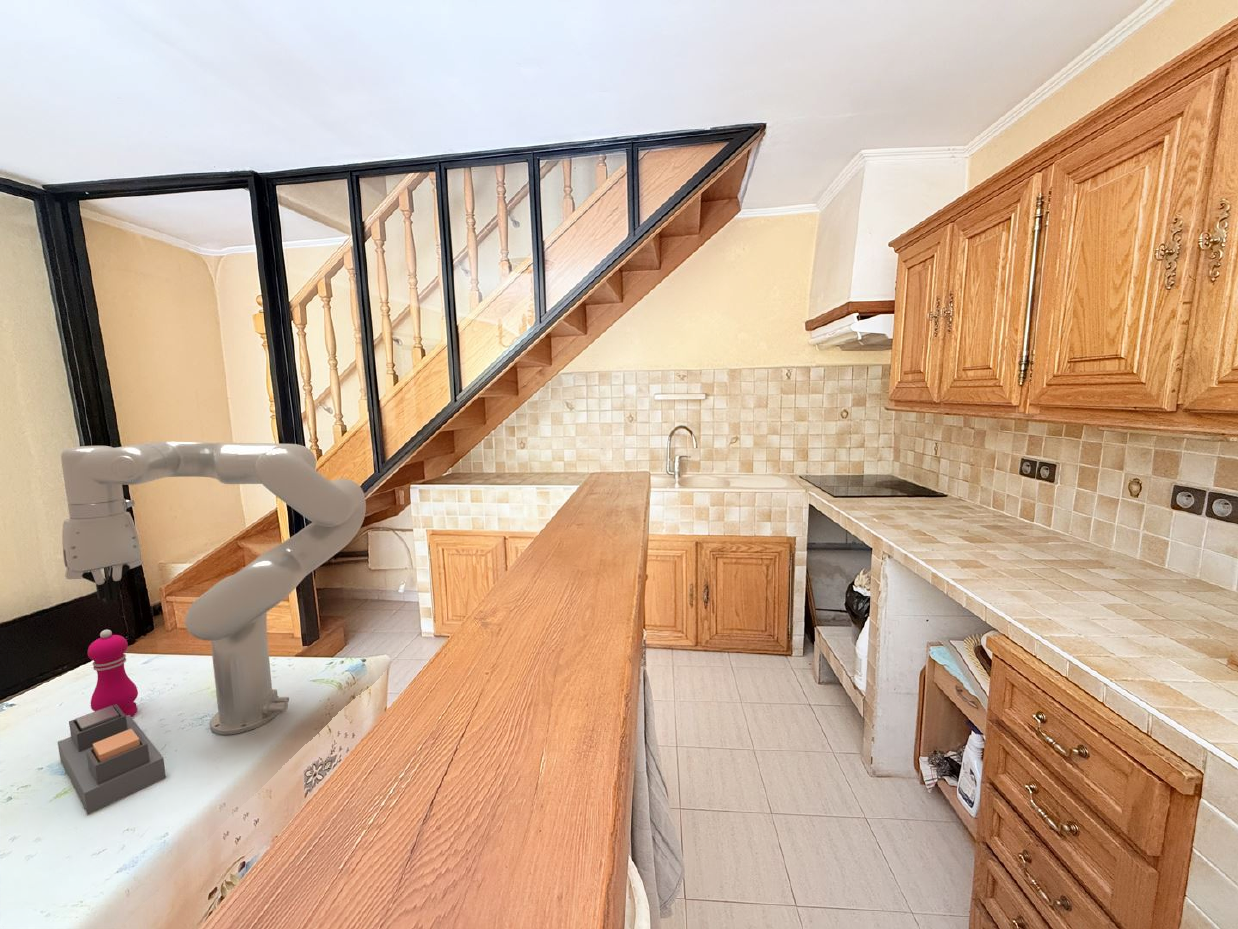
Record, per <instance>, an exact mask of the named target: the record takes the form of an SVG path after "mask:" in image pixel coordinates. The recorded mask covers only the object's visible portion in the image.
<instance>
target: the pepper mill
mask: <svg viewBox="0 0 1238 929" xmlns="http://www.w3.org/2000/svg"><path fill="white" fill-rule="evenodd" d="M99 636H100V638H97V639H96V640H94V641H92V642H91V644H89V645H88V649H87V656H88V658H89V659H90V660H91V661H93V662H92V666H93V667H92V669H93V670H94V671H96V674H97V681H96V685H95V687H94V688H95V689H94V690H93V693H92V696H91V698H90V709H91V710H92V712H95V711H98V710H101V709H103V708H106V707H109V706H113V705H116V704H117V705H118V707H119V708H120V709H121V710H122V712H123V713H124V714H125V716H127V715H130V716H131V717H132V718H133V716H135V715H136V714H137V712H138V707H137V703H136V702H135V701H136V699H137V698H138V695H139V691H138V687H137V685H136V684H135V683H134V682H133V680H131V678H130V677H129V676H128V675H127V672H126V669H125V663H126V662H127V658H126V657H127V656H126V654H125V652H126V650H127V649H128V647H129V646H128V645H129V644H128V641H127V639H126V638H125V637H124V636H122V635H118V634H113V633H112V630H110V629H104V630H102V631H101V632H100V634H99ZM135 713H136V714H135Z"/></svg>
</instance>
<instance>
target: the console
mask: <svg viewBox="0 0 1238 929" xmlns="http://www.w3.org/2000/svg"><path fill="white" fill-rule="evenodd" d="M113 707H114V709H115V710H116V711H117V713H118V714H119V717H118V718H116V719H113V720H110V721H108V722H105V723H102V724H100V725H97V726H95V727H92V728H89V729H87V730H84V731H81V732H80V731H79V730H78V728H77V725H76V718H75V719H72V720H69V721H68V725H69V731H70V737H66V738H64V739H62V740H61V739H60V740H58V741H57V746H58V747H57V748H58V754H59V755H58V756H59V759H60V760H59V761H60V763H61V764H62V767H63V769H64V771H65V773H66V775H67V776H68V778H69V781H70V782H71V785H72V786H73V789H74V790H75V792H76V794H77V797H78V799H79V801H80V802H81V805H82V806H83V809H84V810H85V813H86V815H87V816H89V815H90V814H93V813H94V812H97V811H99V810H101V809H103V808H106V807H108V806H109V805H111V804H114V803H115V802H116V803H117V801H118V802H119V800H122V799H124V798H126V797H128V796H130V795H133V794H136V792H139V791H142V790H143V789H145V788H147V787H150V786H151V785H153V784H156V783H158V782H160V781H162V780H164V779H166V778H167V776H166V767H165V760H164V759H165V758H164V757H163V755H162V754H161V753H160V751H159V750H158V748H156V746H155V745H154V744H153V742H151V740H150V739H149V737H148V736H147V735H146V734H145V732H144V731H143V730H142V729H141V728H140V726H139V725H138V724H137V722H136V721H135V720H134V718H133V716H132V717H131V716H130V715H127V716H125V714H124V713H123V712H122V710H121V709H120V708H119V707H118V705H117V704H116V705H113ZM129 729H132V730H133V731H134V732H135V734H136V735H137V736H138V738H139V740H140V746H138V747H136V748H133V749H131V750H128V751H126V752H124V753H121V754H119V755H117V756H114V757H112V758H109V759H107V760H105V761H102V762H100V763H98V761H97V760H96V758H95V756H94V750H93V743H96V742H98V741H101V740H103V739H106V738H108V737H111V736H113V735H116V734H119V733H121V732H124V731H126V730H129Z"/></svg>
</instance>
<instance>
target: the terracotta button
mask: <svg viewBox="0 0 1238 929" xmlns="http://www.w3.org/2000/svg"><path fill="white" fill-rule="evenodd" d="M138 746H140V740H139V738H138V736H137V735H136V734H135V732H134V731H133V730H132V729H129V730H126V731H124V732H121V733H119V734H116V735H113V736H111V737H108V738H106V739H103V740H101V741H98V742H96V743H93V750H94V756H95V758H96V760H97V761H98V763H100V762H102V761H105V760H107V759H109V758H112V757H114V756H117V755H119V754H121V753H124V752H126V751H128V750H131V749H133V748H136V747H138Z"/></svg>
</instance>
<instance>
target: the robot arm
mask: <svg viewBox="0 0 1238 929" xmlns="http://www.w3.org/2000/svg"><path fill="white" fill-rule="evenodd" d="M60 460H61V467H62V473H63V481H64V488H65V495H66V500H67V501H66V502H67V510H68V515H69V518H68V519H65V520H63V523H62V534H61V535H62V536H61V538H62V539H61V540H62V543H61V544H62V557H63V564H64V566H65V568H66V569H65V574H64V577H65V578H66V579H67V580H83V579H84V580H87V581H89V582H92V583H95V586H96V594H97V595H96V596H97V599H98V600H102V601H103V602H104V603H105V604H109V603H110V602H113V603H114V602H117V601H118V596H120V595H121V594H122V593H121V586H120V581H121V579H122V577H123V576H124V575H125V574H126V573H127V572H128V571H130V570H131V569H134V568H137V567H139V566H142V565H143V564H144V561H143V559H142V558H141V555H142V554H141V552H142V551H141V545H140V541H139V536H138V531H137V528H136V525H135V522H134V520H133V517H132V515H131V513H130V512H129V511H127V509H129V508H130V507H131V508H132V507H135V506H136V504H135V500H134V499H130V500H129V499H125V498H124V496H125V495H124V490H123V485H124V486H125V485H127V486H130V485H131V486H136V485H137V486H138V485H142V484H146V483H149V482H152V481H156V480H159V479H163V478H172V477H173V478H174V477H175V478H177V477H181V478H182V477H183V478H185V477H186V478H187V477H188V478H190V477H191V478H192V477H194V478H195V477H197V478H200V477H201V478H211V479H215V480H217V481H219V482H220V483H221V484H224V485H263V487H265V489H267V490H268V491H269V492H270V493H272V494H273V495H274V496H276V497H277V498H278V499H280V500H281V501H283V502H284V503H285V504H286V505H287V506H289V507H291V508H292V509H293V510H295V511H296V512H297V513H298V514H300V515H301V516H302V517H304V518H305V519H307V520H308V521H309V522H311V523H309V524H308V525H306V526H305V527H304V528H302V529H301V530H299V531H298V532H297V533H295V534H294V535H292V536H290V537H289V538H287V539H286V540H285V541H283V542H282V543H280V544H278V545H276V546H274V547H273V548H271V549H268V550H267V551H265V552H263V553H262V554H261V555H259V556H258V557H257V558H255V559H254V560H253V561H252V562H250V563H249V564H247V565H246V566H245V567H243V568H242V569H240V570H238V572H236V573H235V574H232V575H229V576H227V577H224V578H223V579H221V580H220V581H218V582H217V583H215V584H214V585H213V586H211V587H210V588H208V590H207V591H205V592H204V593H203V594H202V595H200V596H199V597H197V598H196V599H195V600H194V601H193V603H192V604H190V606H189V608H188V609H187V611H186V614H185V627H186V629H187V631H188V633H189V634H190V635H191V636H192V637H194V638H195V639H198V640H201V641H205V642H211V643H210V644H211V657H212V666H213V667H212V668H213V675H214V685H215V693H216V704H217V711H216V713H215V714H214V715H213V716H212V717H211V719H210V721H209V727H210V730H211V732H213V733H215V734H217V735H226V736H227V735H235V734H240V733H245V732H247V731H250V730H254V729H256V728H258V727H261V726H262V725H264V724H266V723H268V722H270V721H271V720H272V719H274V718H275V717H276V716H278V714H279V713H285V712H287V710H288V708H289V702H290V697H288V696H283V697H282V696H281V697H280V696H278V694H279V693H278V689H273V686H272V674H271V665H270V664H271V663H270V655H269V654H270V651H269V644H268V643H269V640H268V626H267V625H268V622H267V615H268V612H269V611H270V610H272V609H273V608H276V606H278V605H279V604H280V603H281V602H283V601H284V600H285V599H286V598H287V597H288V596H289V595H291V593H292V592H294V590H295V589H296V588H297V587H298V586H299V584H300V583H301V582H302V581H303V580H304V579H305V578H306V576H308V575H309V574H311V573H312V572H314V571H315V570H316V569H318V567H320V566H321V565H323V564H324V563H326V562H327V561H328V560H330V559H331V558H333V557H334V556H335V555H336V554H338V553H339V552H340V551H342V550H343V549H344V548H345V547H346V546H347V545H348V544H350V542H351V541H353V539H354V538H355V537H356V535H357V534H358V532H359V531H360V529H361V527H362V525H363V523H364V520H365V516H366V509H367V502H366V497H365V493H364V490H363V489H362V487H361V486H360V484H358V483H357V482H355V481H354V480H352V479H349V478H348V479H347V478H338V479H337V478H336V479H332V480H331V481H330V480H329V479H327V478H326V477H325V476H323V475H322V474H321V473H320V472H319V471H317V470H316V469H317V468H316V467H317V459H316V456H315V454H314V453H313V451H312V450H311V449H309V448H308V447H306V446H304V445H301V444H297V443H272V442H270V443H267V442H266V443H263V442H262V443H260V442H258V443H249V442H248V443H247V442H202V441H198V442H197V441H153V442H145V443H138V444H132V445H131V444H130V445H124V446H119V447H112V446H108V445H85V446H73V447H68V448H65V449H64V450H63V451H62V452H61V455H60ZM107 568H109V575H108V577H107V579H105V577H104V575H103V572H102V570H101V569H107Z"/></svg>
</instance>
